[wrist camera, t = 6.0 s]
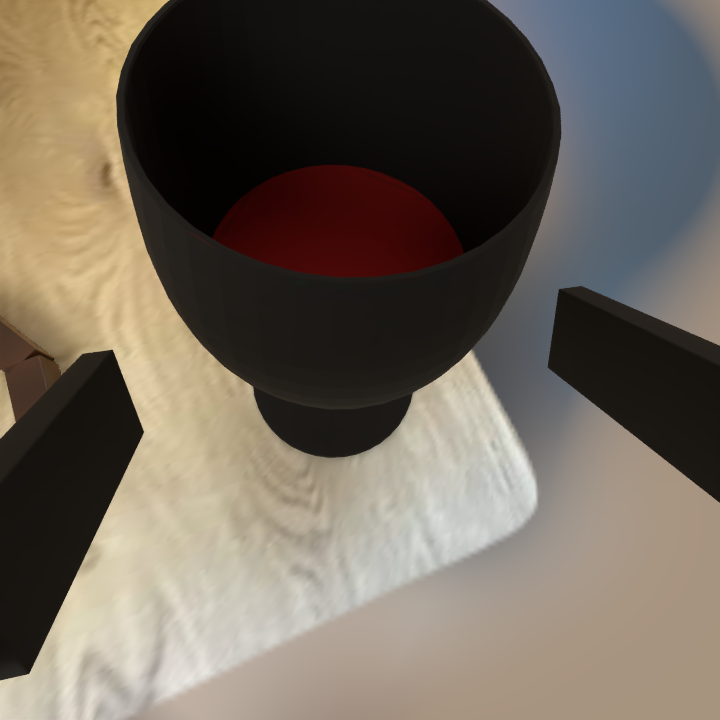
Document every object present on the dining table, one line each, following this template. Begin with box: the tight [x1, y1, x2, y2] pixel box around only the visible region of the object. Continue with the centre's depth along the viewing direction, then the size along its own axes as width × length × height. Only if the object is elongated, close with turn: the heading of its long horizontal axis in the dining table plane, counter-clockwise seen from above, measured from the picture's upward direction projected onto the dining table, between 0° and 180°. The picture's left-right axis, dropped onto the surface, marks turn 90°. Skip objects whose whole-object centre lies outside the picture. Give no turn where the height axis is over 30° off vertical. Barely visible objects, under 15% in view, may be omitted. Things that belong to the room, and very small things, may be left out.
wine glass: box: [116, 0, 561, 458], centre depth 18 cm, size 10×10×20 cm
